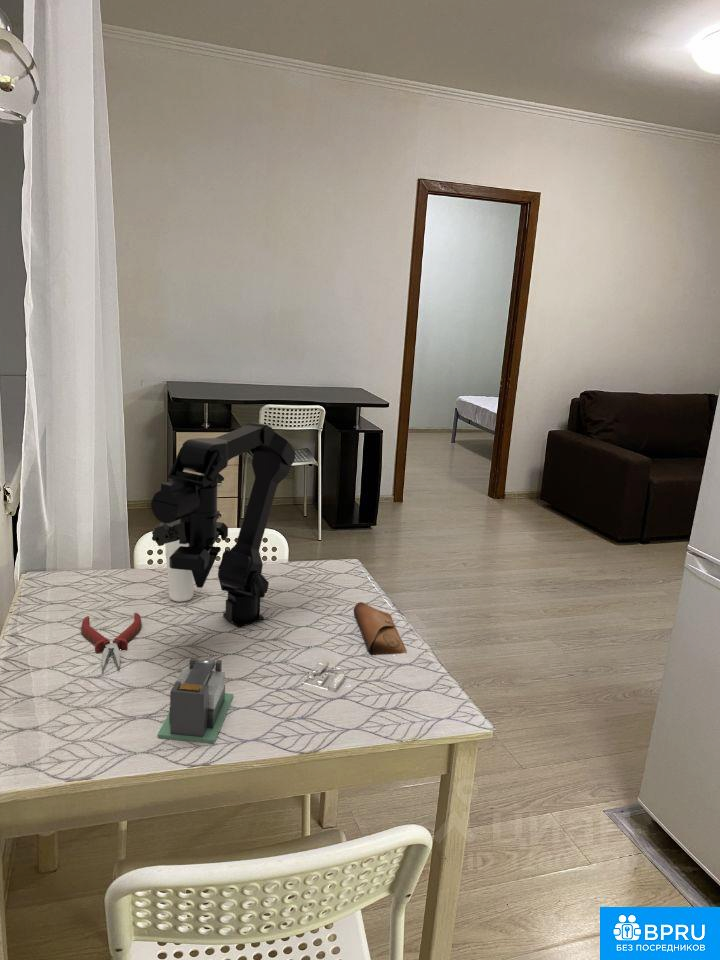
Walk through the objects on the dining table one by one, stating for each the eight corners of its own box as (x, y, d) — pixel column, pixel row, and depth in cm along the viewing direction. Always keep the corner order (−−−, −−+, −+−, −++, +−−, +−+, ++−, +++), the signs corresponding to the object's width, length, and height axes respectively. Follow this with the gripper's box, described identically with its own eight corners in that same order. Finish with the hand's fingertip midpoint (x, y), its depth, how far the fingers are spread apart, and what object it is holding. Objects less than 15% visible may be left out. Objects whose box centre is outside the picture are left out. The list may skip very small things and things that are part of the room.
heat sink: (184, 696, 121) (184, 666, 120) (224, 700, 121) (225, 670, 120) (169, 724, 114) (169, 692, 112) (212, 728, 113) (213, 697, 112)
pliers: (76, 678, 126) (76, 665, 125) (82, 625, 144) (81, 614, 144) (144, 672, 130) (144, 659, 129) (141, 621, 148) (141, 610, 147)
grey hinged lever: (197, 656, 120) (179, 688, 110) (215, 657, 120) (198, 690, 110) (197, 665, 121) (178, 699, 110) (215, 667, 121) (198, 700, 110)
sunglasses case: (410, 653, 142) (396, 628, 140) (379, 670, 142) (364, 645, 140) (389, 613, 159) (376, 589, 157) (362, 628, 159) (348, 605, 157)
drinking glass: (182, 588, 164) (183, 526, 159) (203, 597, 160) (204, 534, 156) (158, 597, 158) (158, 534, 154) (179, 607, 154) (179, 542, 150)
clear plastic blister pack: (335, 695, 127) (335, 687, 127) (300, 685, 130) (300, 678, 129) (351, 674, 135) (351, 667, 134) (317, 665, 137) (318, 658, 136)
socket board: (182, 691, 124) (182, 649, 121) (233, 696, 123) (234, 654, 121) (157, 737, 111) (157, 691, 109) (214, 743, 111) (215, 697, 109)
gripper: (173, 490, 140) (173, 564, 144) (139, 520, 122) (140, 604, 126) (229, 495, 139) (227, 569, 144) (204, 526, 121) (202, 610, 126)
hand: (199, 586), depth 135 cm, fingers closed
